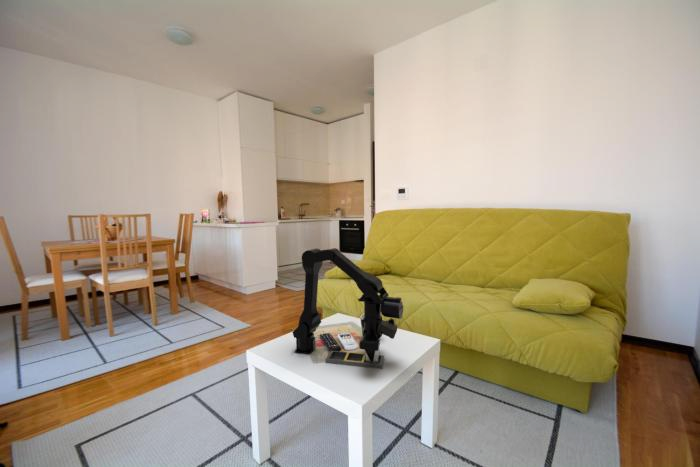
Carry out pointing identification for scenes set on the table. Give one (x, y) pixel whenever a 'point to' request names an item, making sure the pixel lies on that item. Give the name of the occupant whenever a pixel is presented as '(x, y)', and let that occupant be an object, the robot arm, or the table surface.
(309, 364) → the table surface
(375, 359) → the block
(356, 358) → the rail
